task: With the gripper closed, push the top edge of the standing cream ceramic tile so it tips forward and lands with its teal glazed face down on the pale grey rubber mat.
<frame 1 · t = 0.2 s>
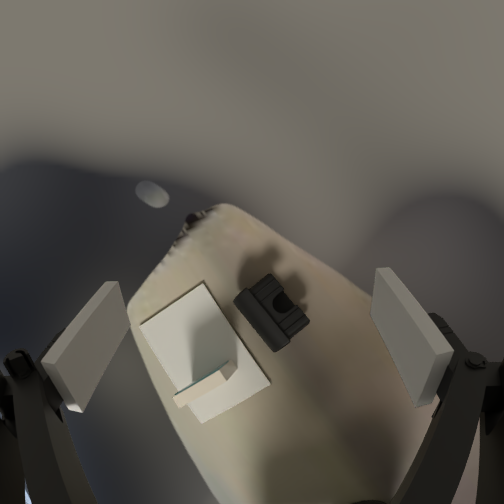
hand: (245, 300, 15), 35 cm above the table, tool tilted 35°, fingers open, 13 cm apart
mat: (202, 355, 49), on the table
tile: (207, 382, 42), point 6 cm above the table, touching mat
end cap: (272, 312, 49), on the table
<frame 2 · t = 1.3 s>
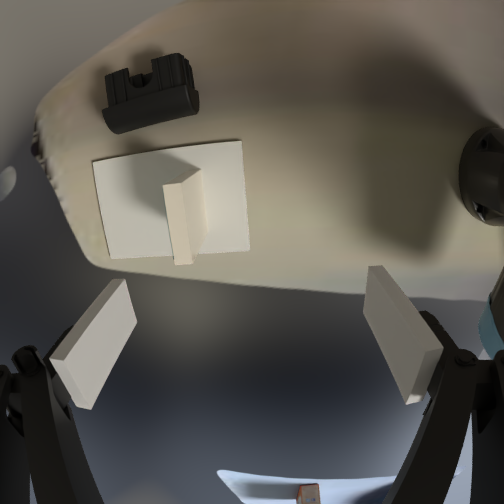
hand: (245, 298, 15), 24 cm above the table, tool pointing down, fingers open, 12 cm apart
mat: (168, 203, 38), on the table
tile: (188, 211, 33), point 6 cm above the table, touching mat
end cap: (160, 98, 33), on the table
cracker box: (306, 491, 70), on the table
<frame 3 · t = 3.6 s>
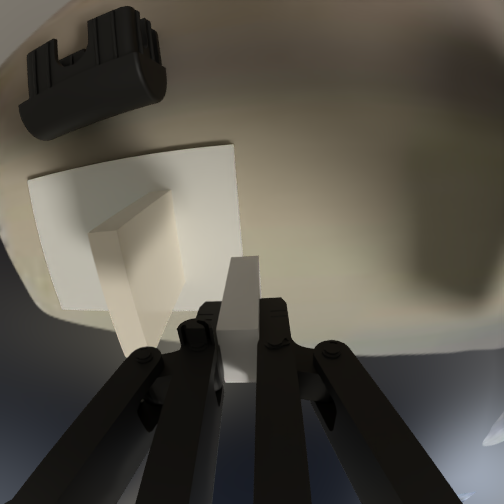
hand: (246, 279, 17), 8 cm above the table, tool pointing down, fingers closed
mat: (127, 239, 25), on the table
tile: (148, 263, 20), point 6 cm above the table, touching mat
end cap: (113, 82, 20), on the table
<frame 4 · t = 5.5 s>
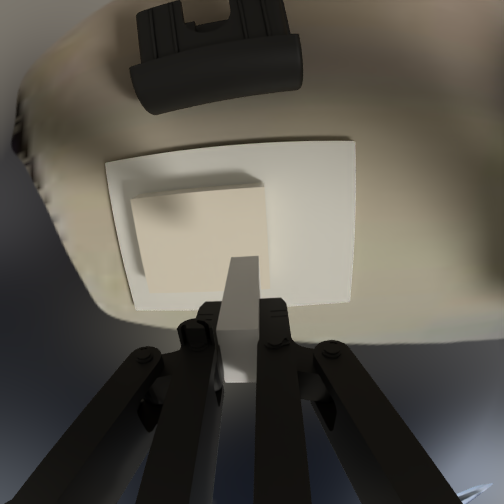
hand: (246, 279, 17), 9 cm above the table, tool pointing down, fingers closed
mat: (232, 231, 25), on the table
tile: (202, 240, 24), point 2 cm above the table, tilted 90°, touching mat
end cap: (223, 63, 20), on the table
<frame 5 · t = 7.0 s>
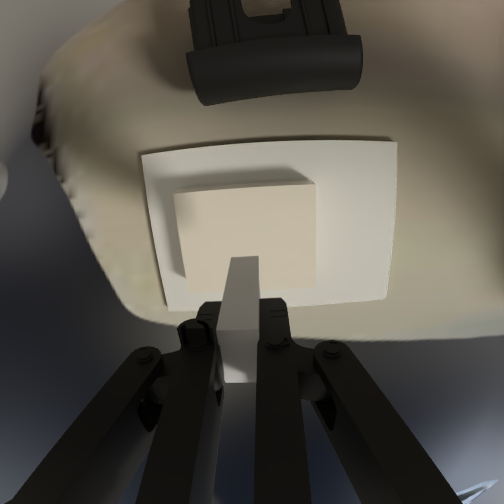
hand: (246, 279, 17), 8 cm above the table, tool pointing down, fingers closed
mat: (275, 229, 25), on the table
tile: (247, 238, 23), point 2 cm above the table, tilted 90°, touching mat
end cap: (269, 58, 20), on the table
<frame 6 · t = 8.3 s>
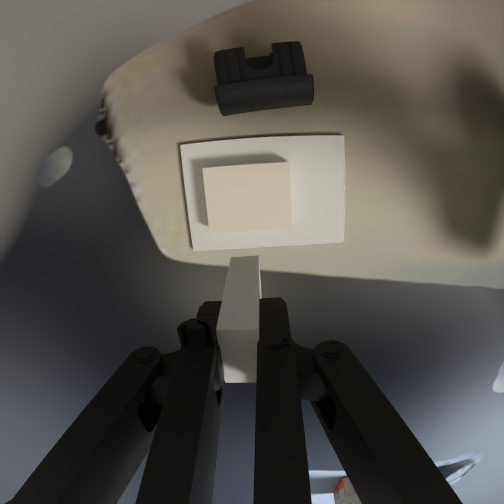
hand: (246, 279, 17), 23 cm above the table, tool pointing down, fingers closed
mat: (265, 192, 38), on the table
tile: (248, 196, 37), point 2 cm above the table, tilted 90°, touching mat
end cap: (261, 84, 33), on the table
cracker box: (345, 484, 70), on the table
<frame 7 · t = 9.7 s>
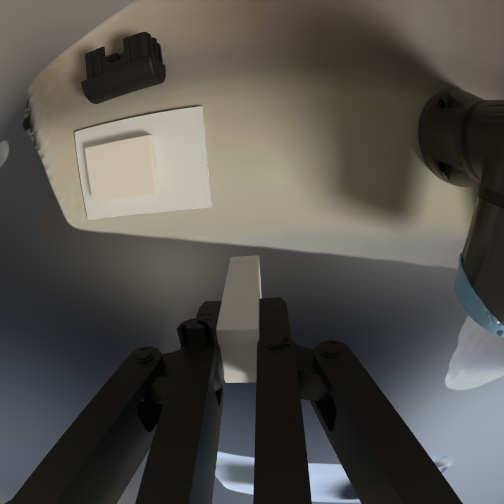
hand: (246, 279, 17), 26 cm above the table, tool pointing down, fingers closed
mat: (138, 165, 40), on the table
tile: (120, 169, 39), point 2 cm above the table, tilted 90°, touching mat
end cap: (134, 73, 35), on the table
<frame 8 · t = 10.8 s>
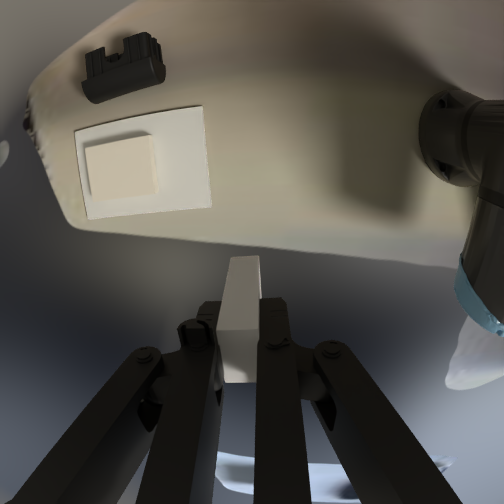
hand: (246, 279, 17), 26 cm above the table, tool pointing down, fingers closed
mat: (138, 165, 40), on the table
tile: (120, 169, 39), point 2 cm above the table, tilted 90°, touching mat
end cap: (134, 73, 35), on the table
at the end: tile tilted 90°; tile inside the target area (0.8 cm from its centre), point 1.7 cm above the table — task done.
